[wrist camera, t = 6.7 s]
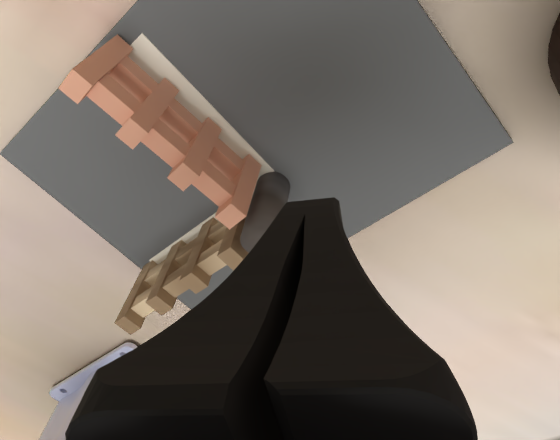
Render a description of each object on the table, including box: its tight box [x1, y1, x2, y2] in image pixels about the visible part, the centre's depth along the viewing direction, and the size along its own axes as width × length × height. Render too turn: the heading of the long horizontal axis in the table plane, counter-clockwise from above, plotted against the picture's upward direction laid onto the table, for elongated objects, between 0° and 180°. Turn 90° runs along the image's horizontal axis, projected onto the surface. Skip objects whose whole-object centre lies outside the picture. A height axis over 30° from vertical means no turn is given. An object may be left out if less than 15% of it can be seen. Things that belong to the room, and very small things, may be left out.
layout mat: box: [0, 0, 513, 309], centre depth 23 cm, size 19×14×1 cm
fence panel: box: [58, 34, 262, 230], centre depth 20 cm, size 8×1×4 cm, turn 45°
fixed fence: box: [115, 172, 290, 335], centre depth 24 cm, size 10×2×4 cm, turn 131°
